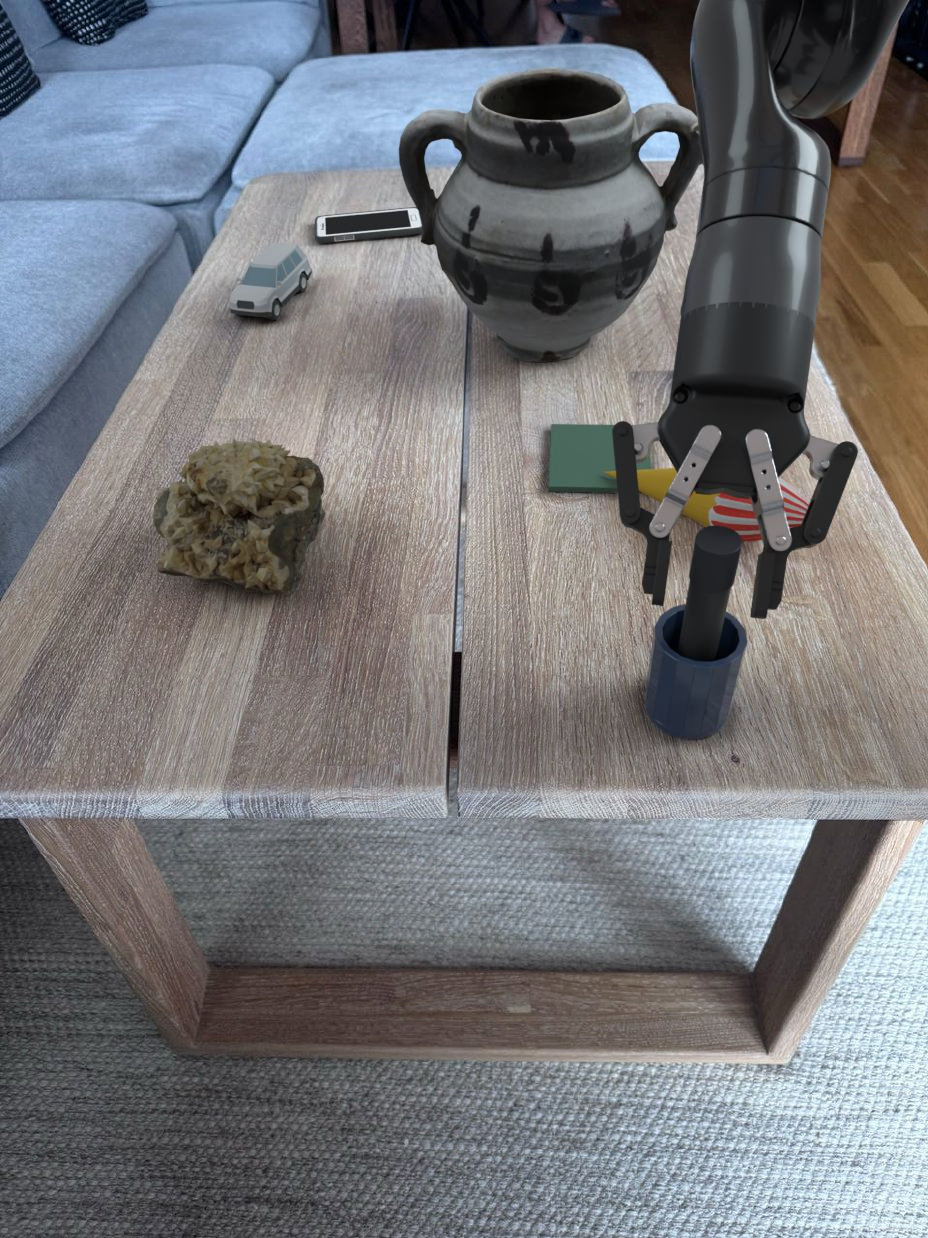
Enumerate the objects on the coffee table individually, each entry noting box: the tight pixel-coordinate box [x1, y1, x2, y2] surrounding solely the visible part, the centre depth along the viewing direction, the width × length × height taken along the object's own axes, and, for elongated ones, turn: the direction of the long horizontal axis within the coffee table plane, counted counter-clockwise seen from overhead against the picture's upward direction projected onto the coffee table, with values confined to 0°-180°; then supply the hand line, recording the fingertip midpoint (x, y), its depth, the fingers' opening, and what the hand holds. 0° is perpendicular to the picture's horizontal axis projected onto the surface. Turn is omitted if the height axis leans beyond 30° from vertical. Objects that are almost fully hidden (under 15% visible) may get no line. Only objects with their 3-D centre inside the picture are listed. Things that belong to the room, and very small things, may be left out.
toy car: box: [229, 242, 313, 321], centre depth 107 cm, size 6×13×5 cm, turn 163°
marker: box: [677, 526, 744, 662], centre depth 56 cm, size 3×3×14 cm
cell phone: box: [314, 206, 422, 244], centre depth 123 cm, size 8×15×1 cm, turn 97°
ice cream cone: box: [604, 467, 811, 543], centre depth 74 cm, size 6×6×20 cm
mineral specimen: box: [152, 438, 327, 596], centre depth 71 cm, size 14×13×10 cm
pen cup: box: [644, 603, 749, 740], centre depth 59 cm, size 6×6×7 cm
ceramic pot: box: [398, 67, 703, 363], centre depth 90 cm, size 29×23×25 cm
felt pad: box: [547, 423, 652, 494], centre depth 82 cm, size 9×10×1 cm
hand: (707, 610), depth 53 cm, fingers open, 5 cm apart
